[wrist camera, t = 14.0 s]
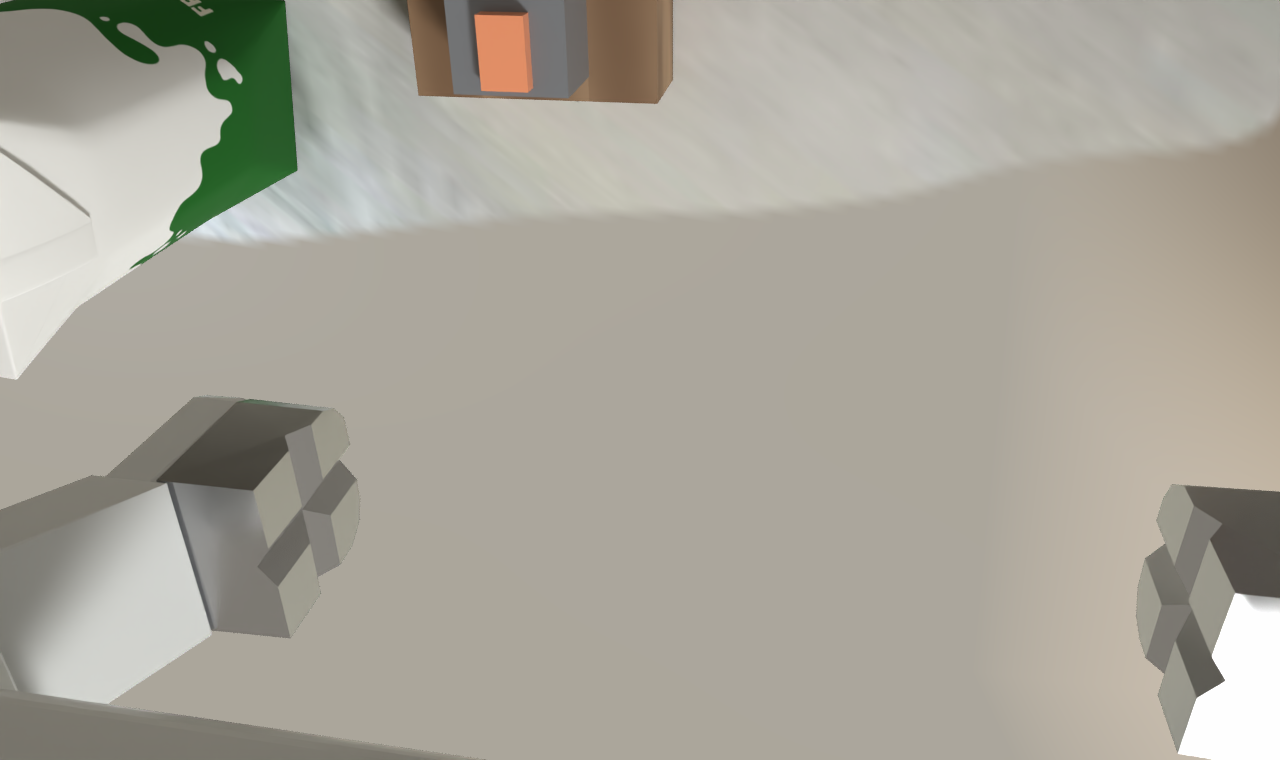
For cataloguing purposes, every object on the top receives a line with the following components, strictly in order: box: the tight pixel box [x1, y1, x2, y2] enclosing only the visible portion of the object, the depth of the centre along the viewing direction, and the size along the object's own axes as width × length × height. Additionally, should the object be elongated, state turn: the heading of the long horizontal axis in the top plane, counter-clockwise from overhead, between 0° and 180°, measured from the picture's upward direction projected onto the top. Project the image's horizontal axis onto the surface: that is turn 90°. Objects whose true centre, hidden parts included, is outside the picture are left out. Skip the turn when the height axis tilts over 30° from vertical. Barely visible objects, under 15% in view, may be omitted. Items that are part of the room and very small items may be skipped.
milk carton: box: [0, 0, 297, 379], centre depth 34 cm, size 9×9×20 cm
